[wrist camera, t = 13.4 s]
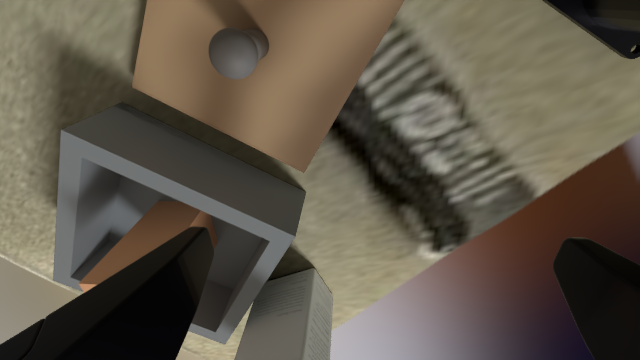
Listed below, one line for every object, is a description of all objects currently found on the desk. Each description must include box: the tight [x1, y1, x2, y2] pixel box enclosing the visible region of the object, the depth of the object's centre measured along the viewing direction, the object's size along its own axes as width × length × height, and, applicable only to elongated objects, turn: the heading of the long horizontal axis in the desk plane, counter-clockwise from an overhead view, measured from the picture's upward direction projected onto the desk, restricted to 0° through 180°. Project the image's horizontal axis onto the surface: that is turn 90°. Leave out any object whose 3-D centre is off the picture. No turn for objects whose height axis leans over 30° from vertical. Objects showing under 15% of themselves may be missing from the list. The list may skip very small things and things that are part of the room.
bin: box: [53, 102, 306, 344], centre depth 23 cm, size 14×14×5 cm
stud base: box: [132, 0, 404, 173], centre depth 15 cm, size 12×12×6 cm
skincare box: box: [235, 268, 333, 360], centre depth 23 cm, size 6×4×12 cm
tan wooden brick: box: [79, 201, 218, 293], centre depth 21 cm, size 4×4×8 cm
